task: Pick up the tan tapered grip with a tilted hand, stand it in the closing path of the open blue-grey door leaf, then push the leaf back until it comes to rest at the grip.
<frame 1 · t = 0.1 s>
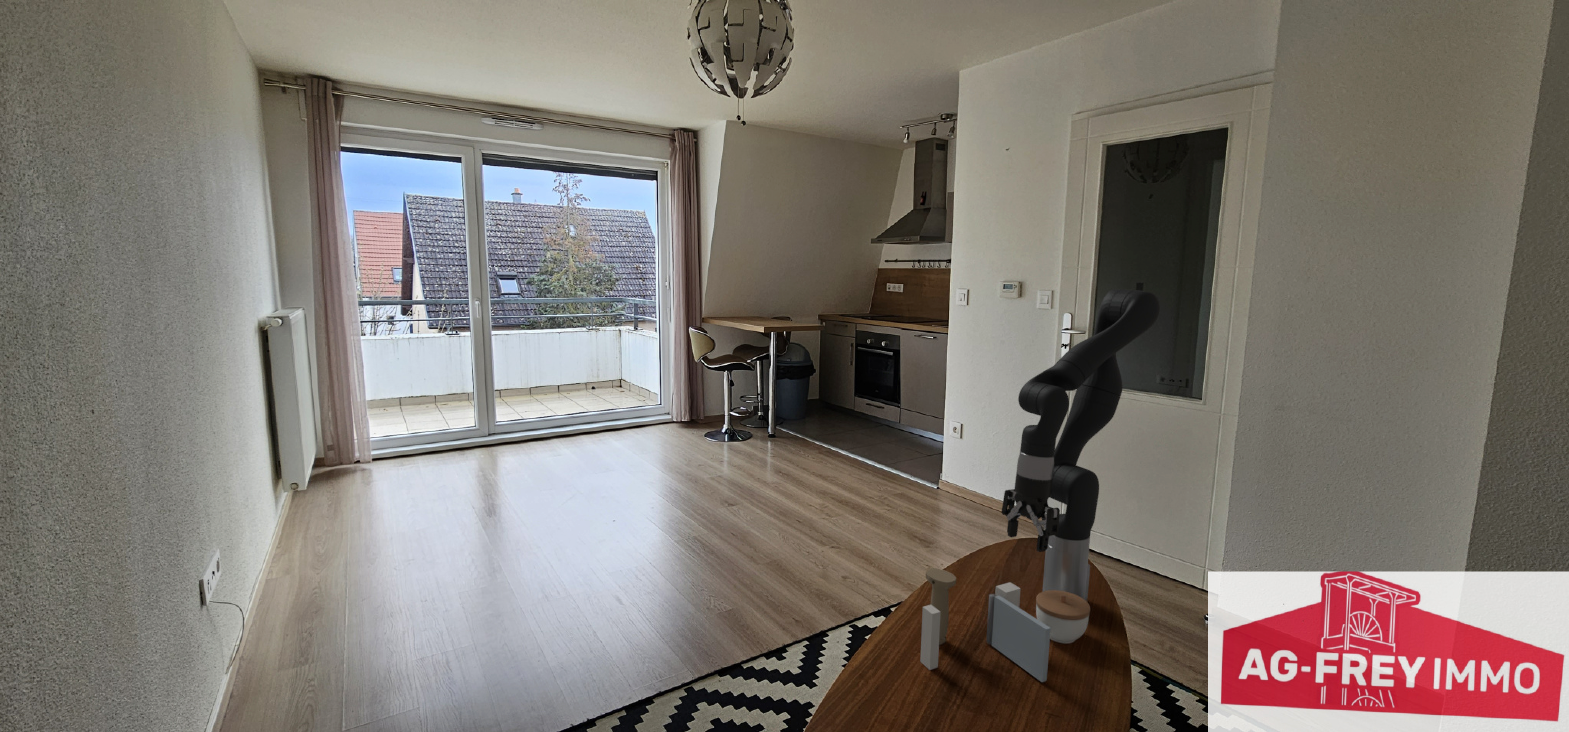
hand: (1026, 543, 151), 17 cm above the table, tool pointing down, fingers open, 8 cm apart
lidded jar: (1060, 636, 146), on the table
doorframe: (990, 644, 142), on the table
tan tapered grip: (937, 641, 143), on the table
door: (1016, 634, 135), point 6 cm above the table, hinge at 90.0°
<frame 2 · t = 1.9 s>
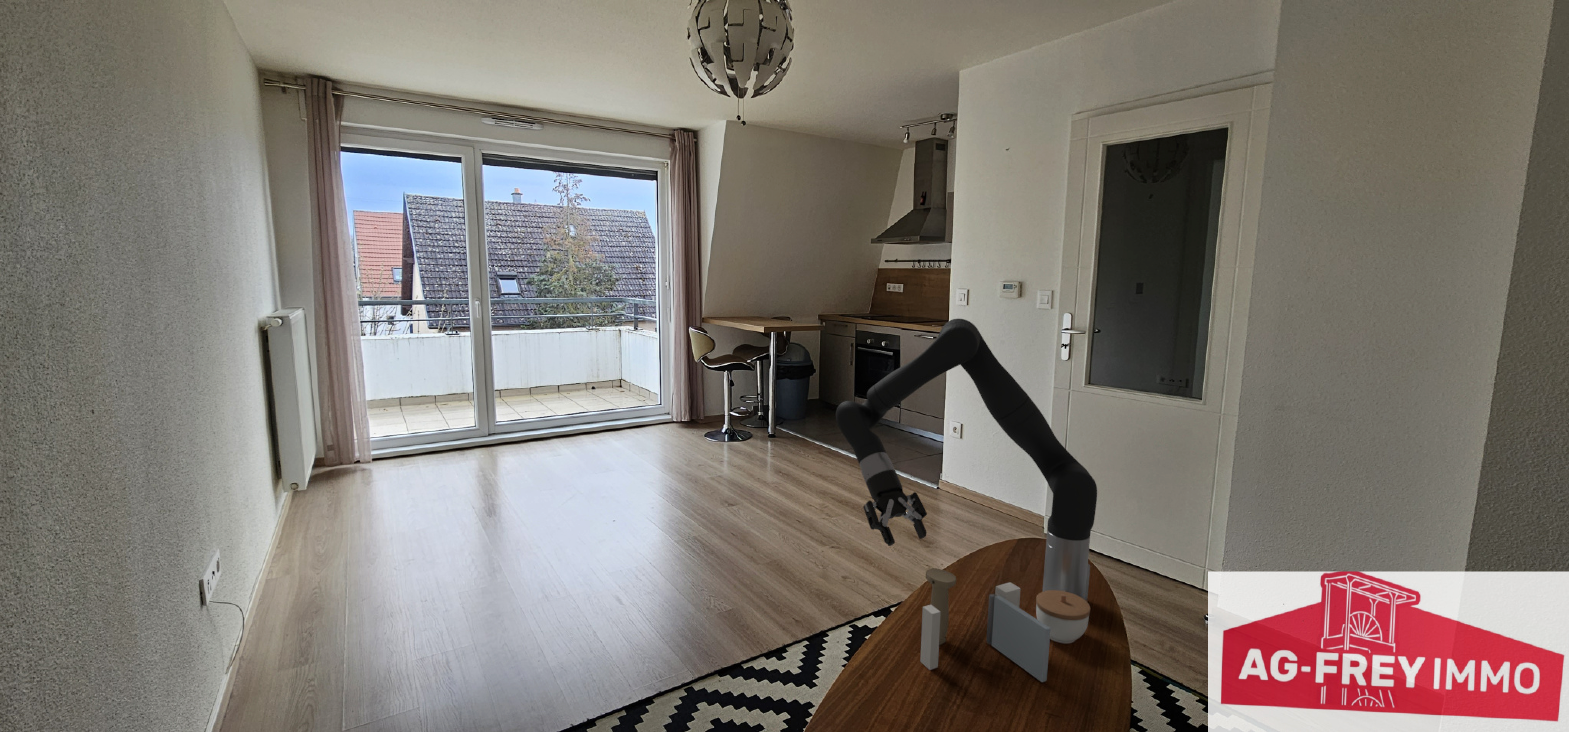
hand: (907, 540, 151), 18 cm above the table, tool tilted 45°, fingers open, 8 cm apart
nothing on the table moved.
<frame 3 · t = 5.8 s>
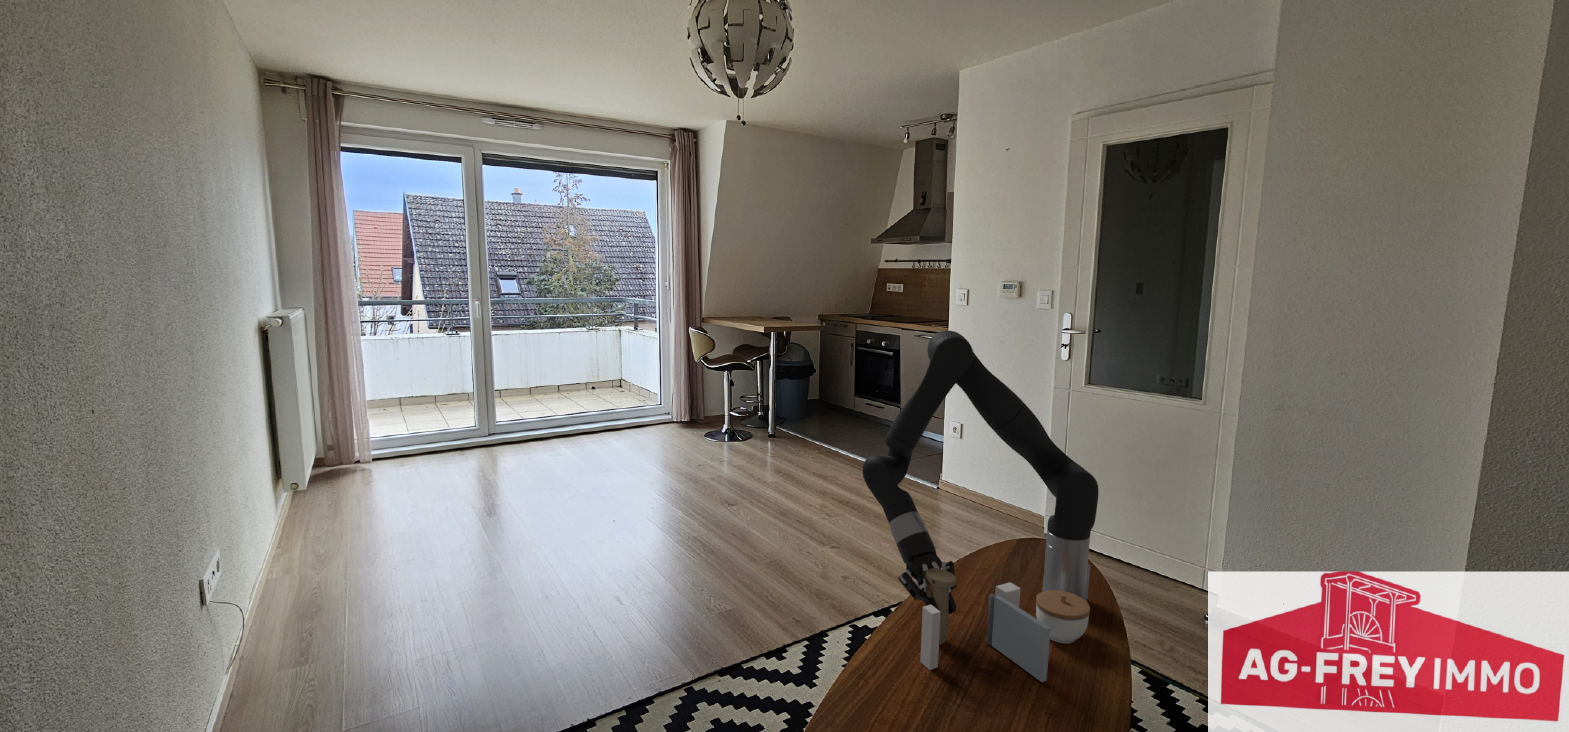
hand: (944, 614, 141), 7 cm above the table, tool tilted 45°, fingers closed on tan tapered grip, 3 cm apart
tan tapered grip: (937, 641, 143), on the table, touching gripper
everything else where it was.
when the fingers open (8 cm above the table, at t = 11.7 s): tan tapered grip drops 1 cm, on the table.
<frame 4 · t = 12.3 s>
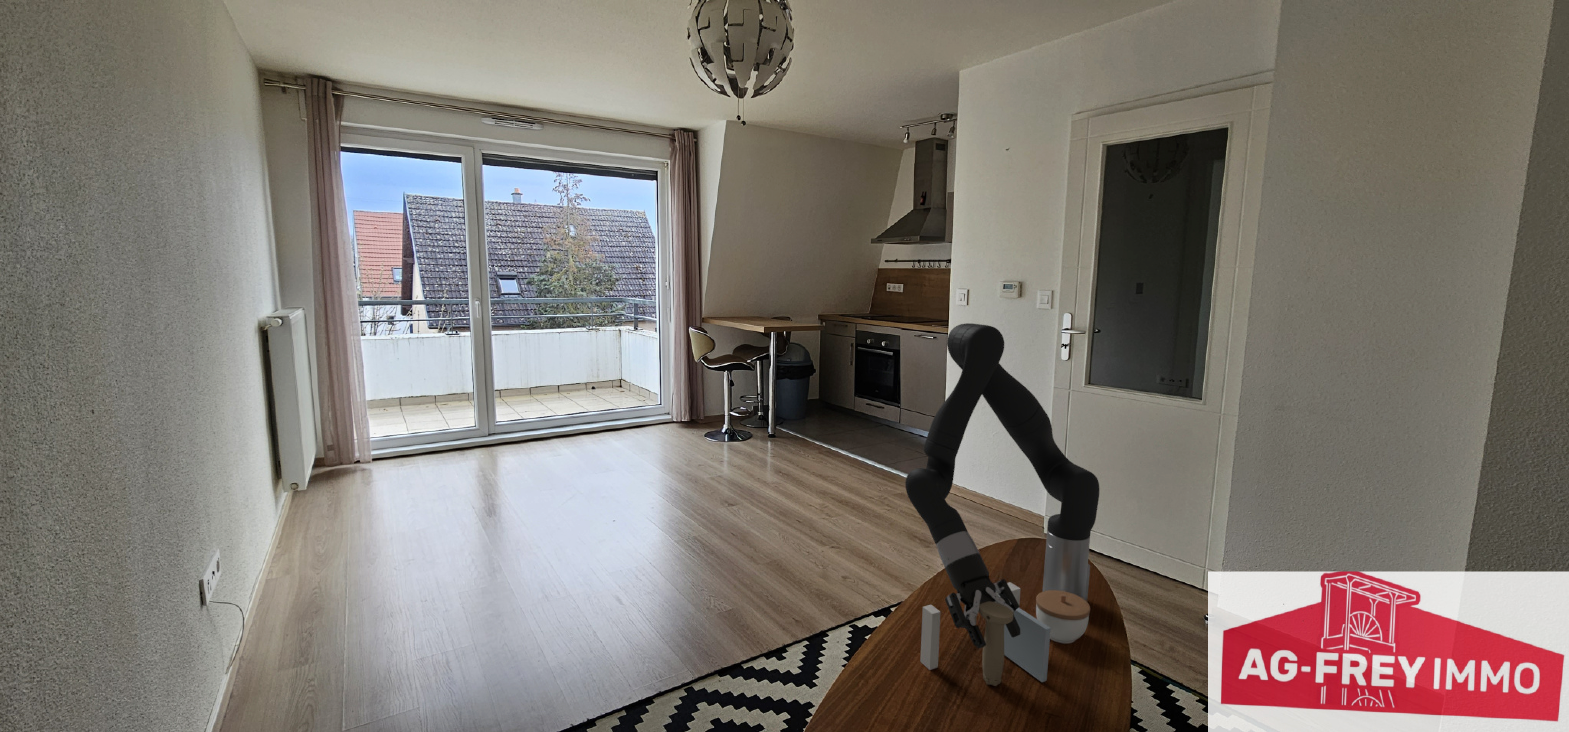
hand: (999, 641, 127), 9 cm above the table, tool tilted 45°, fingers open, 8 cm apart
tan tapered grip: (991, 682, 130), on the table
everything else where it was.
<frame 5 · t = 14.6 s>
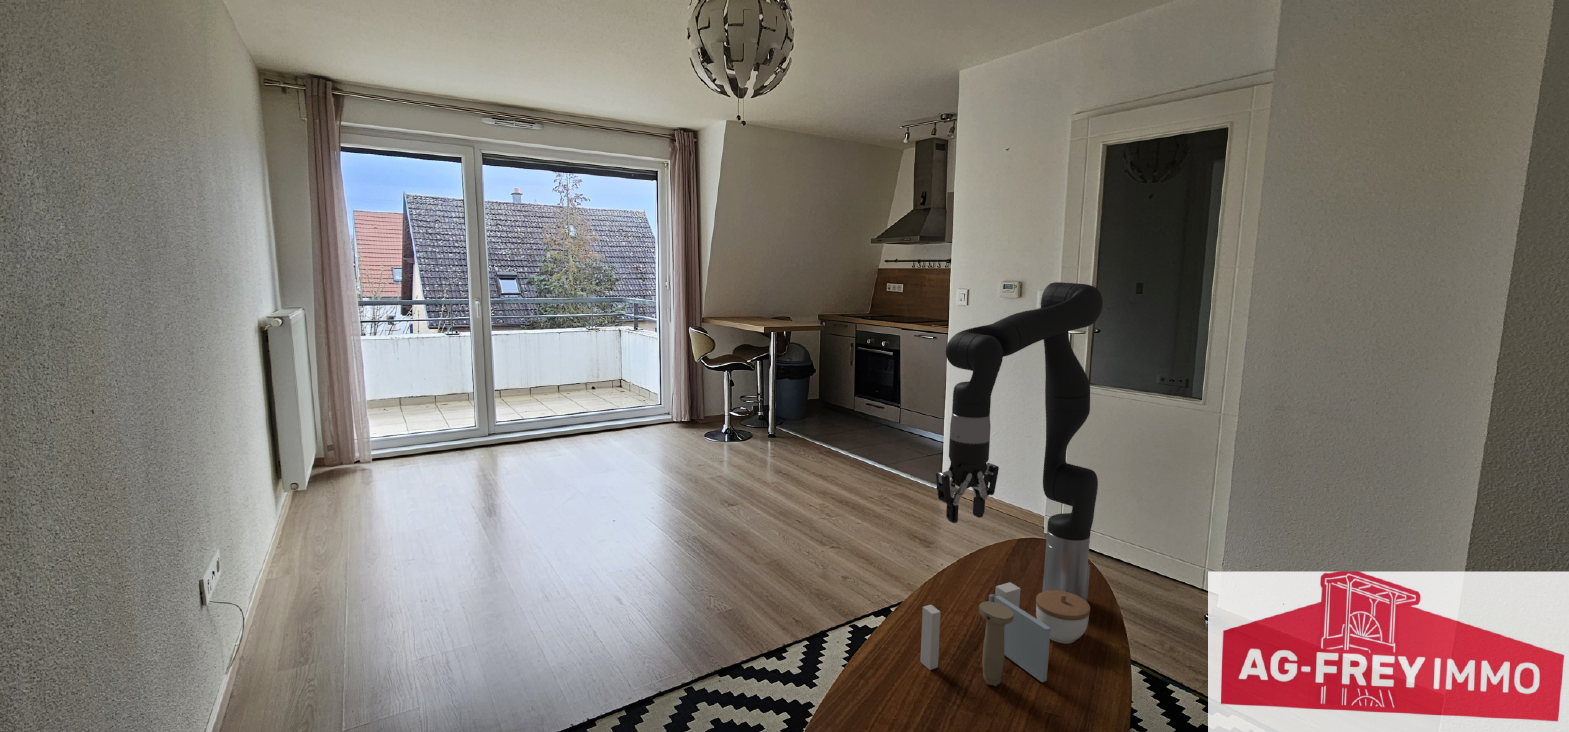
hand: (965, 518, 133), 29 cm above the table, tool pointing down, fingers open, 5 cm apart
nothing on the table moved.
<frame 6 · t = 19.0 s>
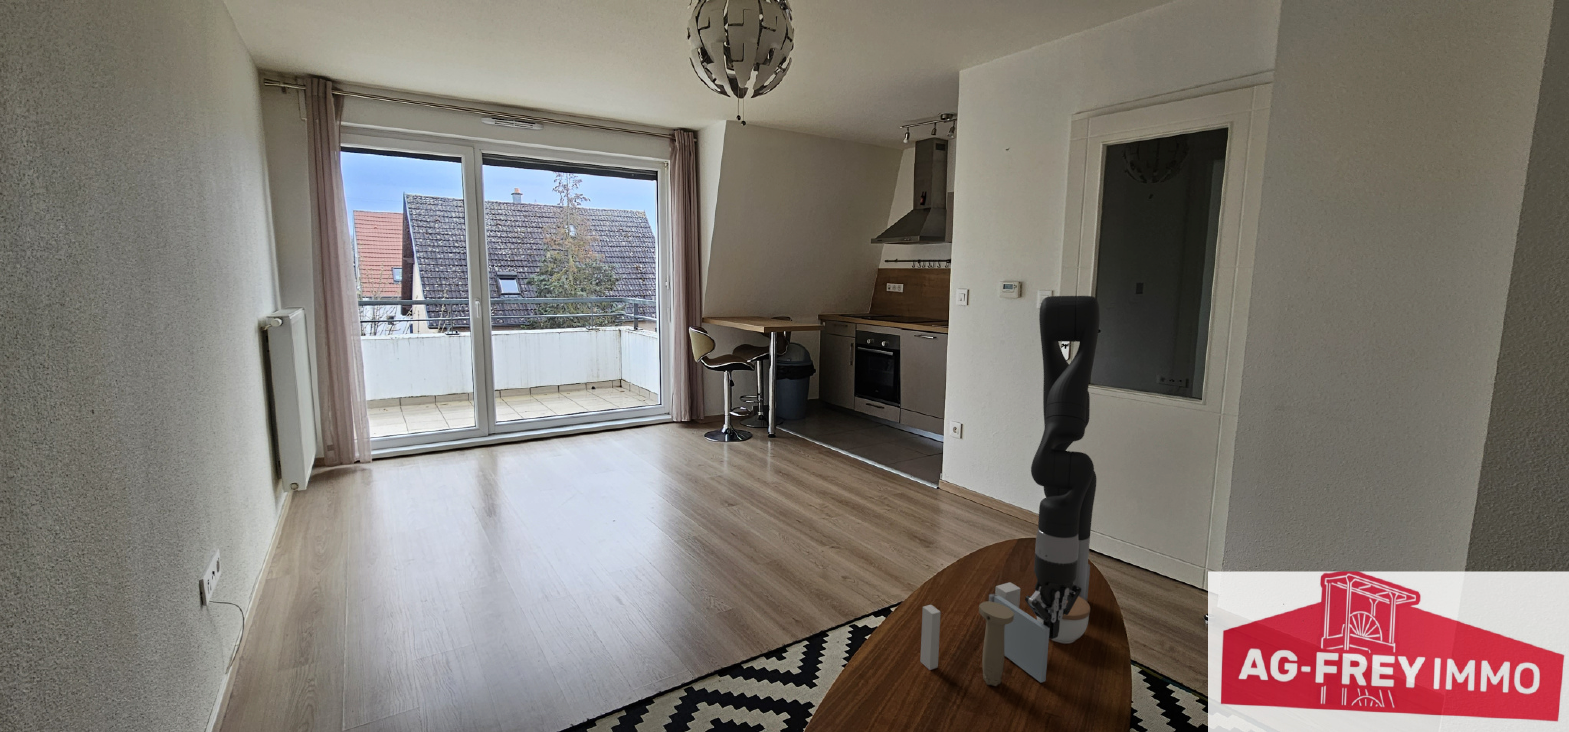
hand: (1050, 635, 131), 8 cm above the table, tool pointing down, fingers closed
door: (1015, 634, 135), point 6 cm above the table, hinge at 88.8°, touching gripper
everything else where it was.
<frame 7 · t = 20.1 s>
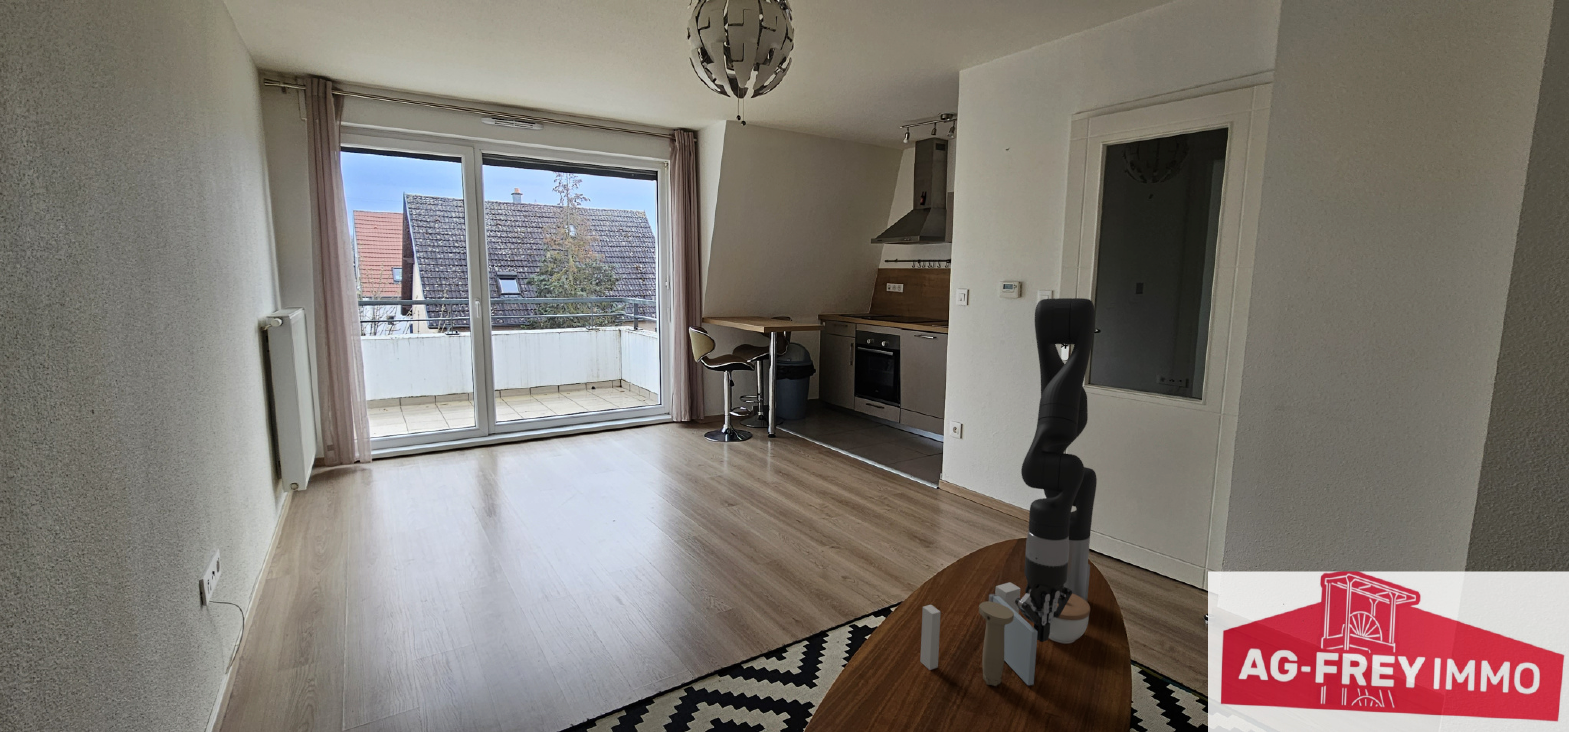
hand: (1041, 638, 130), 8 cm above the table, tool pointing down, fingers closed
door: (1010, 636, 135), point 6 cm above the table, hinge at 77.5°, touching gripper
everything else where it was.
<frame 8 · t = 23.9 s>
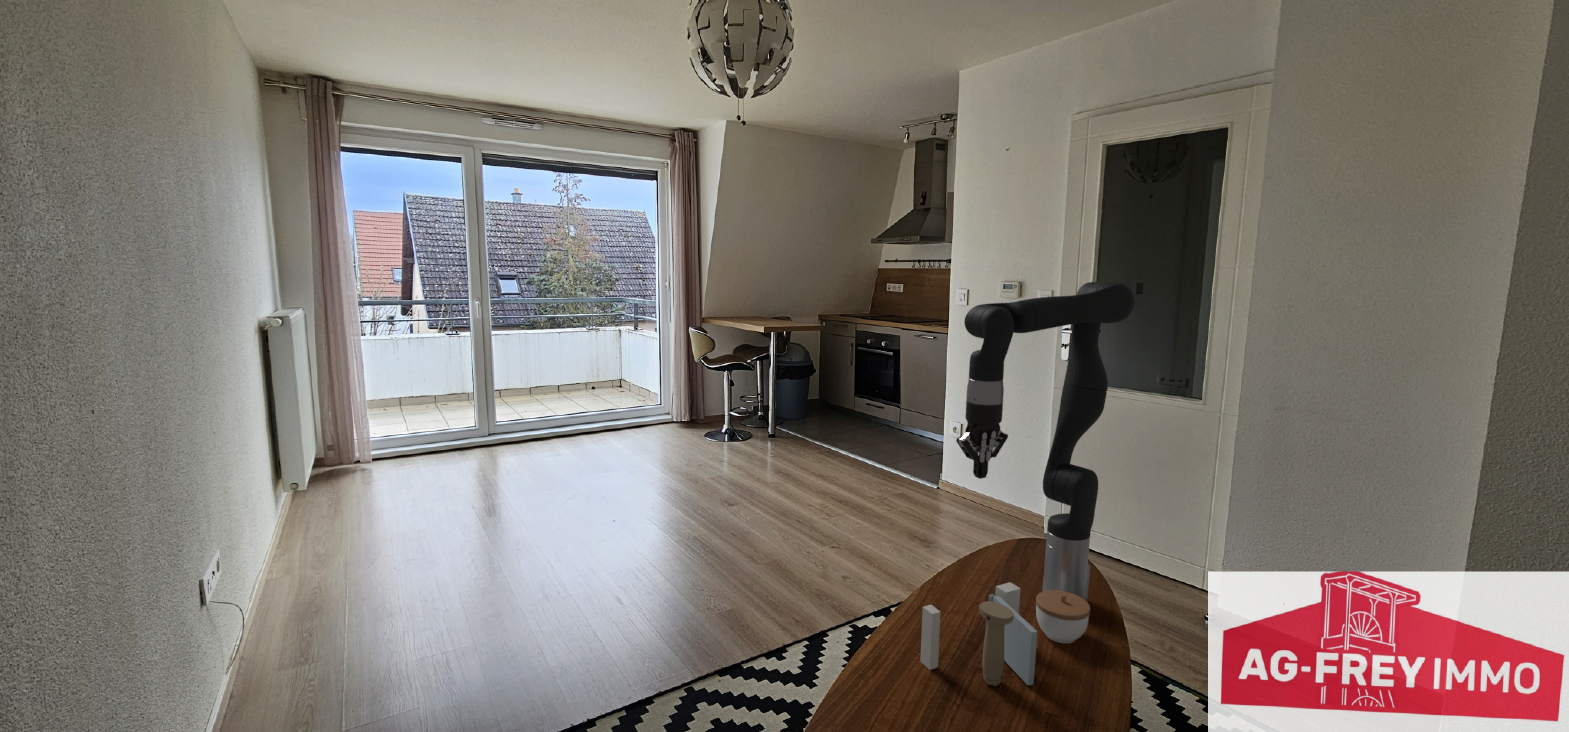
hand: (980, 477, 147), 33 cm above the table, tool pointing down, fingers closed
door: (1010, 636, 135), point 6 cm above the table, hinge at 77.4°
everything else where it was.
at the end: tan tapered grip inside the target area (1.0 cm from its centre), on the table; tan tapered grip tilted 0°; door at +77° (first picture: +90°) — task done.
